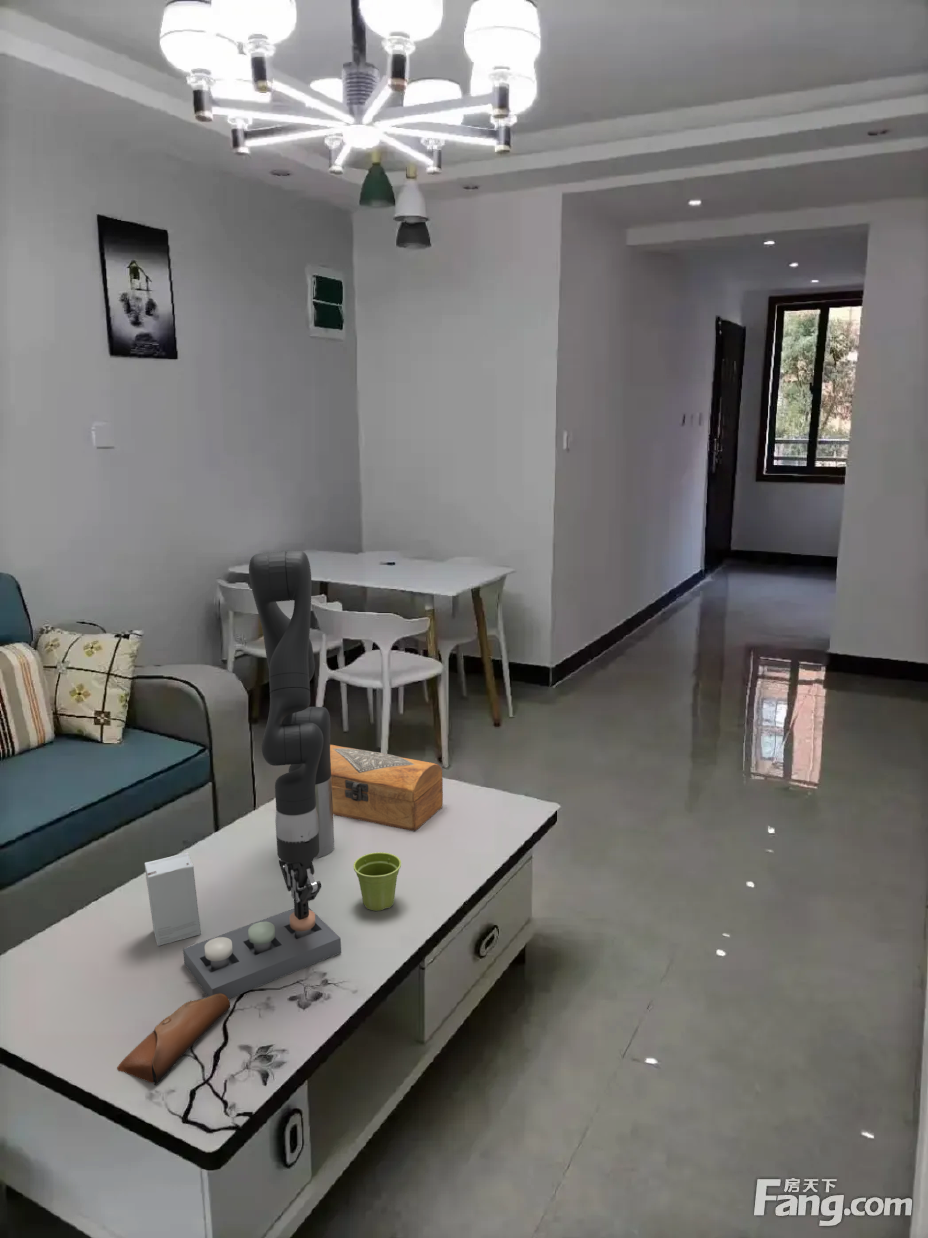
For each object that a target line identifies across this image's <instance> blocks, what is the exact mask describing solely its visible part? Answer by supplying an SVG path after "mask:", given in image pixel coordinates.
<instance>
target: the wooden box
mask: <svg viewBox="0 0 928 1238" xmlns="http://www.w3.org/2000/svg"><path fill="white" fill-rule="evenodd" d="M330 759H331V780H332V801H333V816H338V817H343V818H349V819H353V820H358V821H362V822H368V823H373V824H376V825H377V824H378V825H383V826H387V827H392V828H397V829H401V830H406V831H411V832H416V831H418V830H419V829H420V828H421V827H422V826H423V825H424V824H425V823H426V822H428V821H429V820H430V819H431V818H432V817H433V816H434V815H435V814H437V812H438V811H439V810H440V809H442V808H443V801H444V800H443V799H444V794H443V791H444V789H443V788H444V787H443V786H444V785H443V769H442V767H441V766H440V765H439V764H437V763H434V762H430V761H429V762H428V761H423V760H419V759H412V758H407V757H402V756H398V755H393V754H390V753H384V752H377V751H371V750H365V749H358V748H353V747H346V746H339V745H334V744H330Z"/></svg>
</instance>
